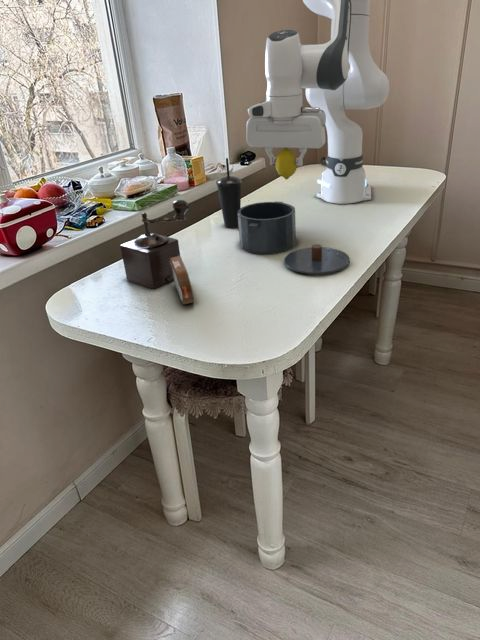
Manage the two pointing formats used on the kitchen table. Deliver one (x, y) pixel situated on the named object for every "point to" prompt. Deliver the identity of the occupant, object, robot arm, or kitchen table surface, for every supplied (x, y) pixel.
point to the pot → (267, 227)
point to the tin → (181, 280)
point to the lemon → (286, 163)
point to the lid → (317, 260)
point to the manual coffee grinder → (152, 252)
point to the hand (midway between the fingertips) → (286, 165)
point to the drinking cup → (230, 198)
